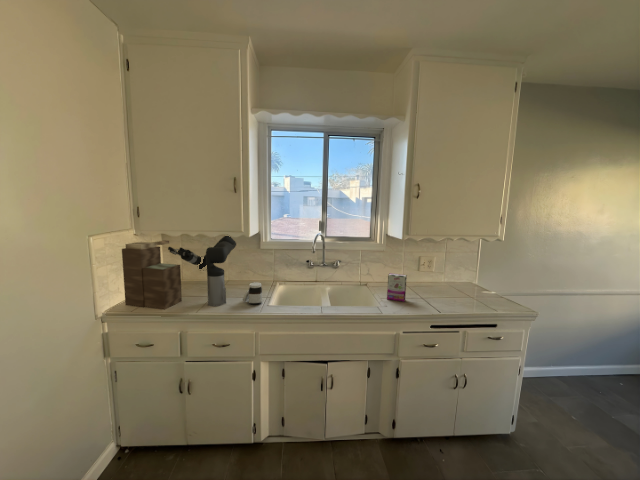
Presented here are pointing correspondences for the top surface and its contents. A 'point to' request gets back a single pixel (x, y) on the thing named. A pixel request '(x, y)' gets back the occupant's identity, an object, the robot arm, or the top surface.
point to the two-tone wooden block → (150, 279)
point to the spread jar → (254, 294)
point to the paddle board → (145, 244)
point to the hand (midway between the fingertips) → (174, 248)
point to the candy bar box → (396, 287)
